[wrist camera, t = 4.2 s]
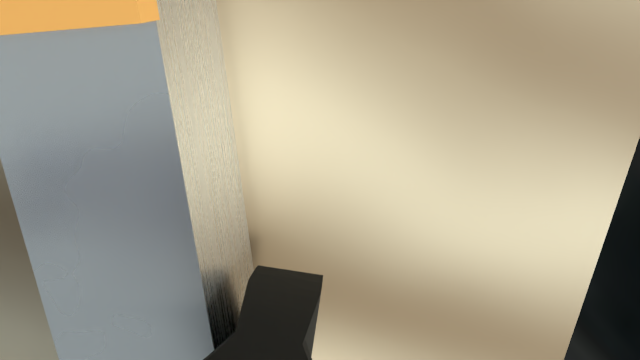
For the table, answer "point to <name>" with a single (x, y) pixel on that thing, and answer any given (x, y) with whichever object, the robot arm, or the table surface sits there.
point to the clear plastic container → (125, 174)
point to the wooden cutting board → (416, 169)
